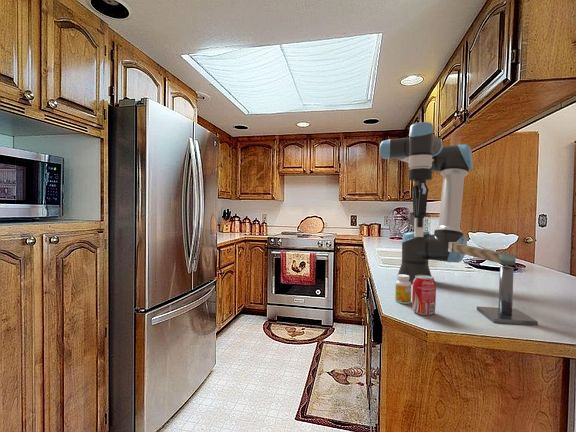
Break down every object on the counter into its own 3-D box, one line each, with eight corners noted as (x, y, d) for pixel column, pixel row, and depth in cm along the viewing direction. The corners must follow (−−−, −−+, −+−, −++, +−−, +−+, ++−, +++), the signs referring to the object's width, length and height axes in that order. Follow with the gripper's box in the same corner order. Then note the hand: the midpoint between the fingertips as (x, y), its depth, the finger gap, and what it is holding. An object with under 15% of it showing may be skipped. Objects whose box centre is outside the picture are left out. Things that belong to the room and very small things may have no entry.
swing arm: (518, 266, 99) (519, 254, 99) (505, 266, 99) (505, 254, 99) (457, 251, 131) (458, 242, 131) (447, 251, 131) (447, 242, 131)
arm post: (476, 309, 109) (478, 263, 108) (515, 312, 107) (517, 264, 106) (493, 322, 97) (495, 270, 96) (537, 325, 95) (539, 271, 94)
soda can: (415, 308, 110) (416, 273, 110) (437, 312, 106) (438, 276, 105) (408, 313, 105) (409, 276, 104) (431, 318, 100) (432, 280, 100)
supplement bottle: (392, 300, 119) (392, 274, 118) (403, 299, 121) (404, 273, 120) (402, 304, 114) (402, 277, 113) (414, 303, 116) (414, 276, 115)
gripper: (437, 166, 104) (435, 238, 105) (426, 170, 117) (425, 235, 118) (413, 166, 105) (411, 238, 106) (405, 170, 118) (403, 234, 119)
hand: (418, 236), depth 112 cm, fingers closed
